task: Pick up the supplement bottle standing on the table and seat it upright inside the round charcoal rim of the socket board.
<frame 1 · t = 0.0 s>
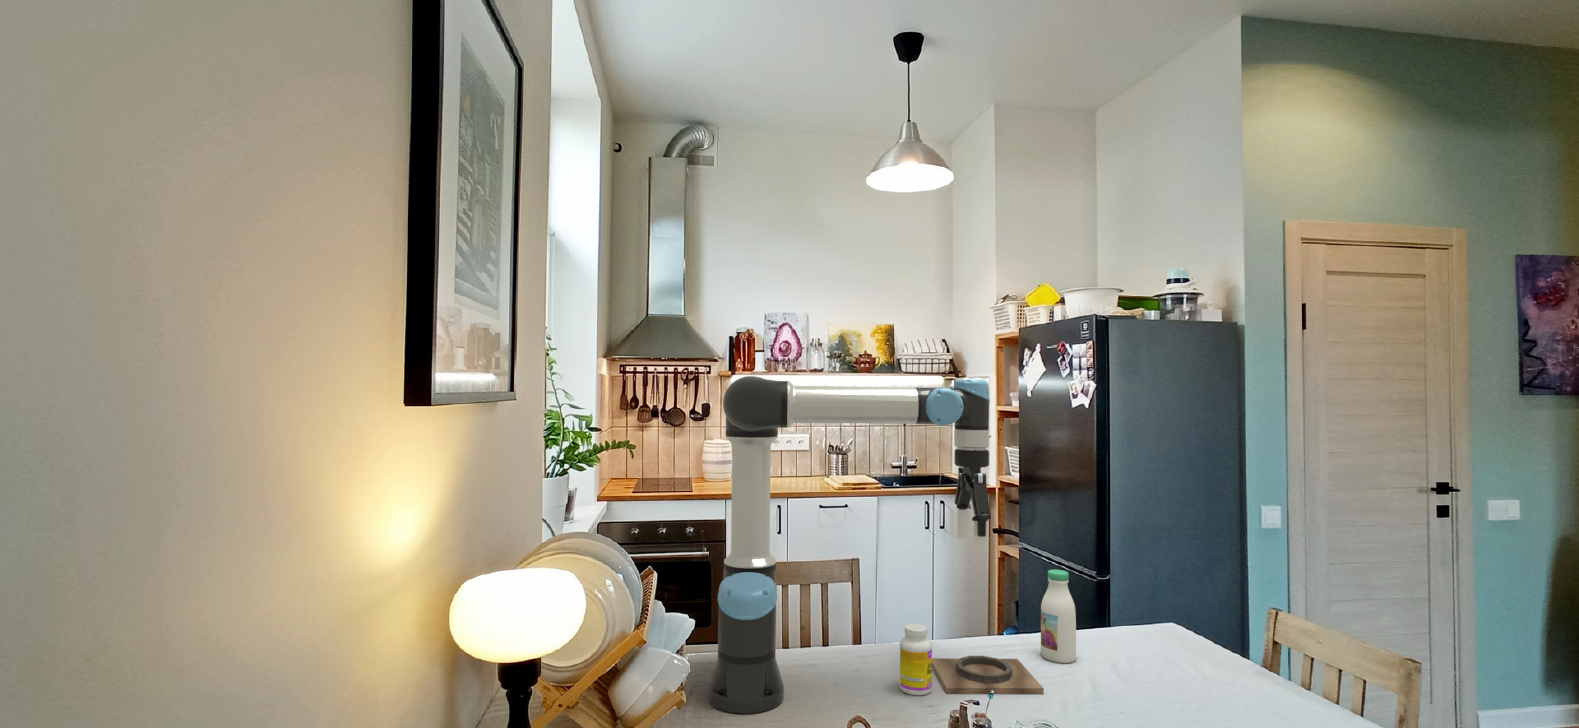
hand: (971, 544, 159), 28 cm above the table, tool pointing down, fingers open, 13 cm apart
socket board: (983, 678, 155), on the table
milk bottle: (1058, 658, 167), on the table
supplement bottle: (915, 690, 149), on the table
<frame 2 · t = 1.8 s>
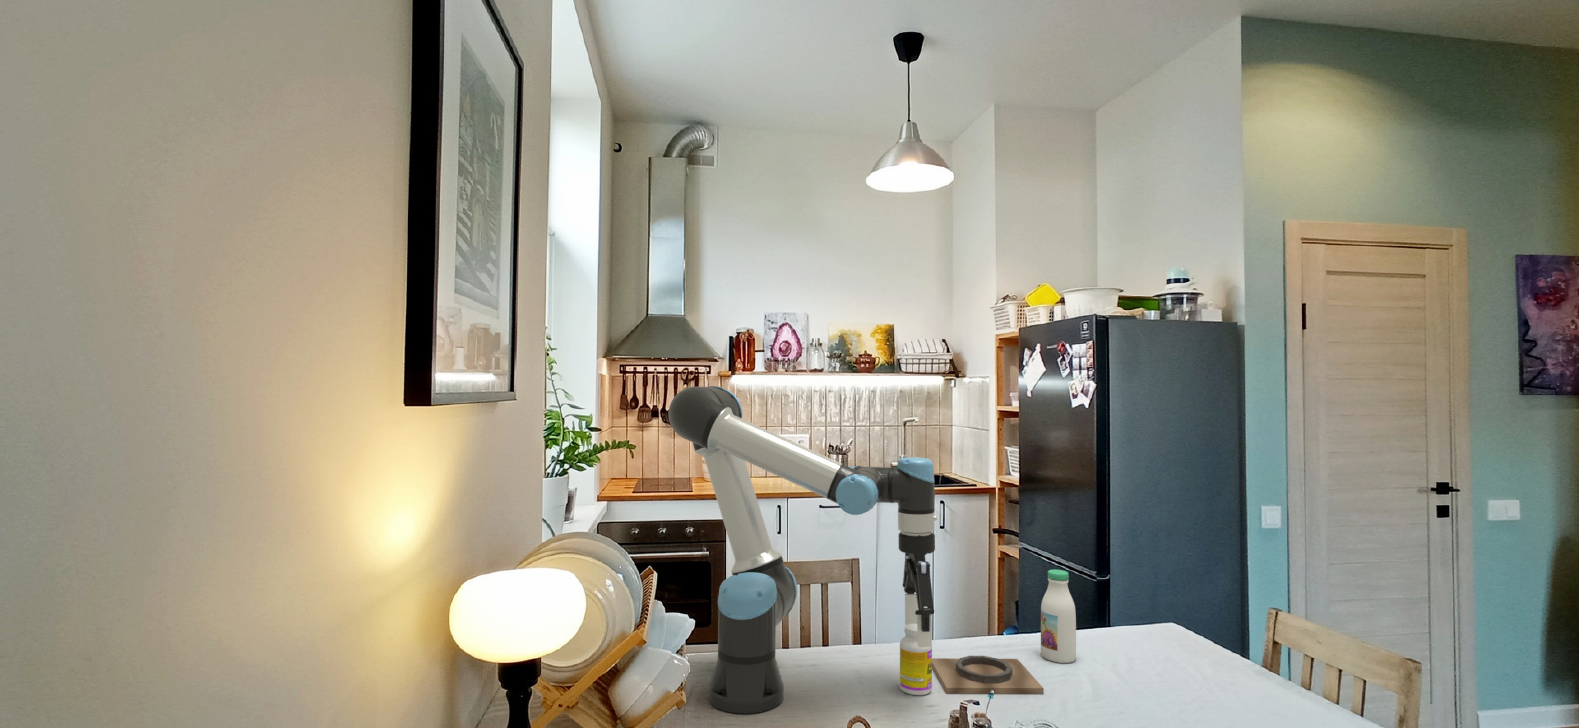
hand: (917, 635, 149), 11 cm above the table, tool pointing down, fingers open, 13 cm apart
nothing on the table moved.
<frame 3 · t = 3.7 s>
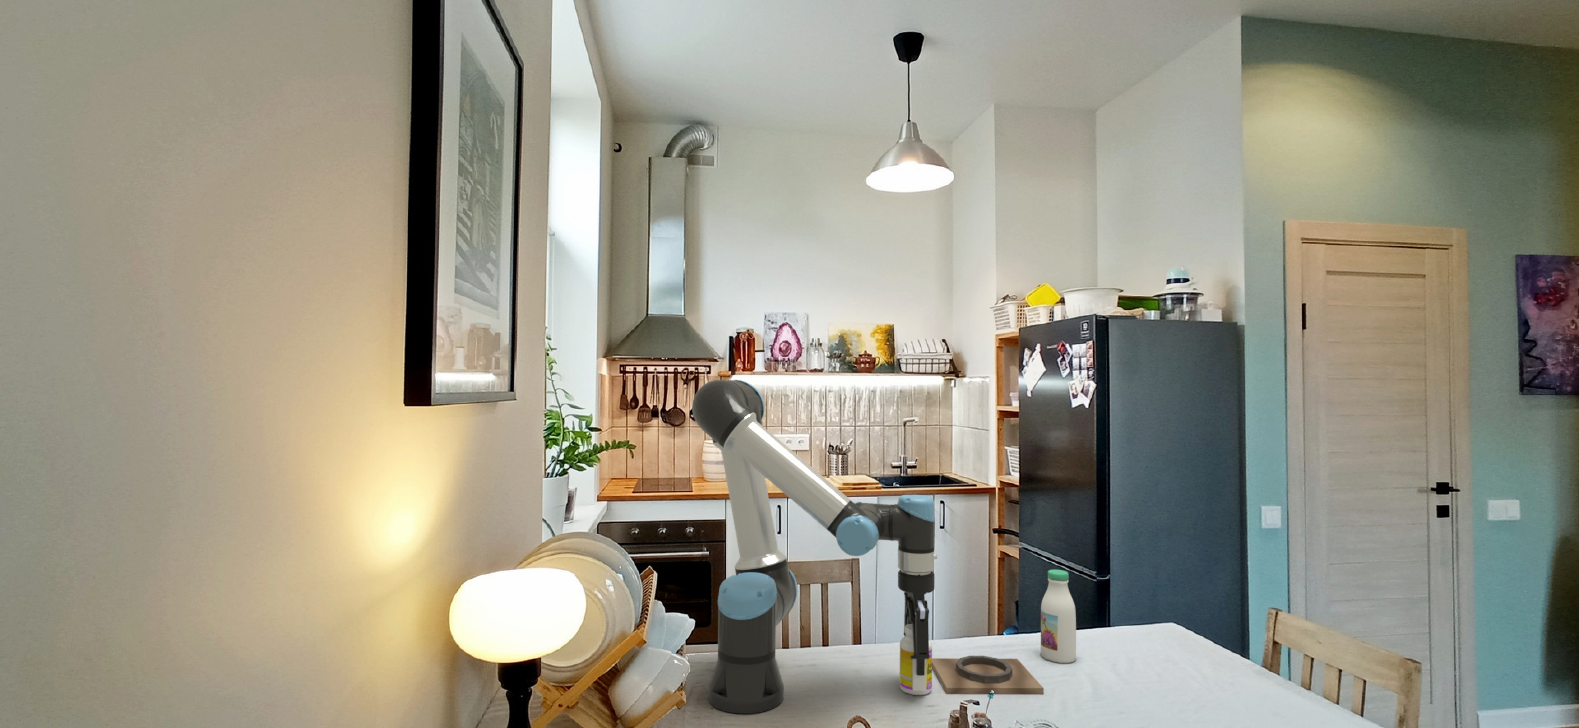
hand: (915, 682, 149), 2 cm above the table, tool pointing down, fingers closed on supplement bottle, 7 cm apart
supplement bottle: (915, 690, 149), on the table, touching gripper
everything else where it was.
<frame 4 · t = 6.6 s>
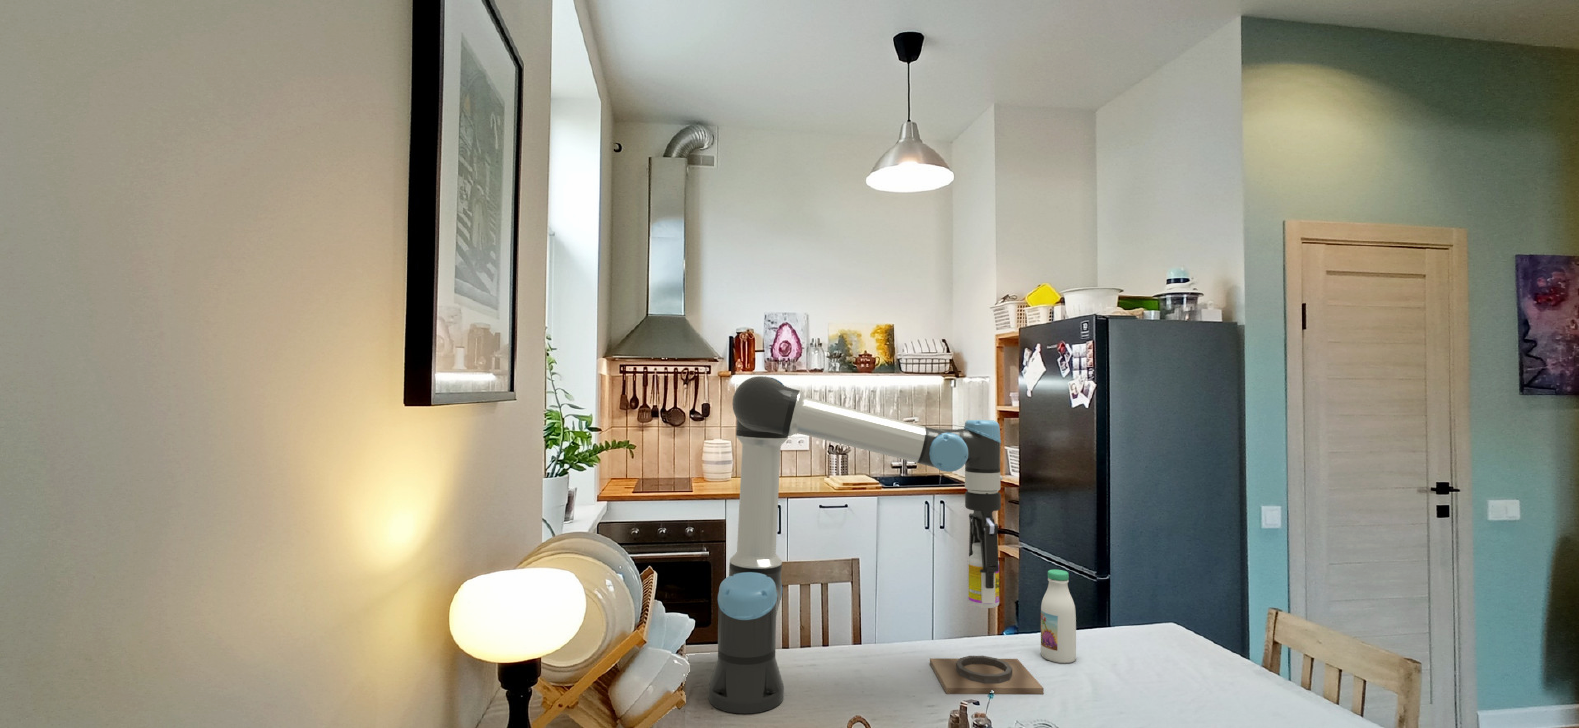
hand: (983, 597, 155), 17 cm above the table, tool pointing down, fingers closed on supplement bottle, 7 cm apart
supplement bottle: (983, 605, 155), point 16 cm above the table, touching gripper
everything else where it was.
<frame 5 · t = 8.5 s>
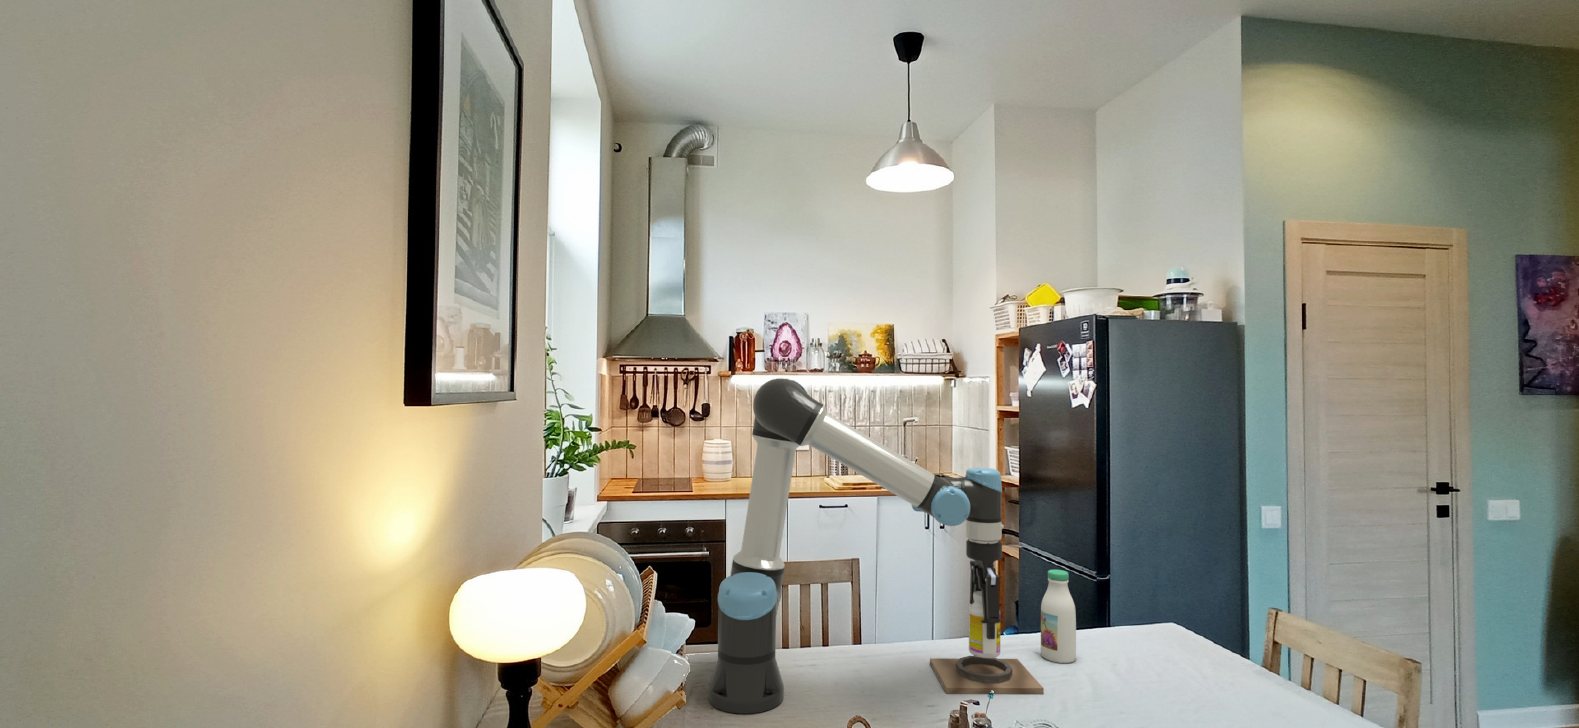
hand: (984, 646, 155), 7 cm above the table, tool pointing down, fingers closed on supplement bottle, 7 cm apart
supplement bottle: (984, 654, 155), point 5 cm above the table, touching gripper
everything else where it was.
when the fingers open (4 cm above the table, at t = 9.9 s): supplement bottle drops 1 cm, resting on socket board.
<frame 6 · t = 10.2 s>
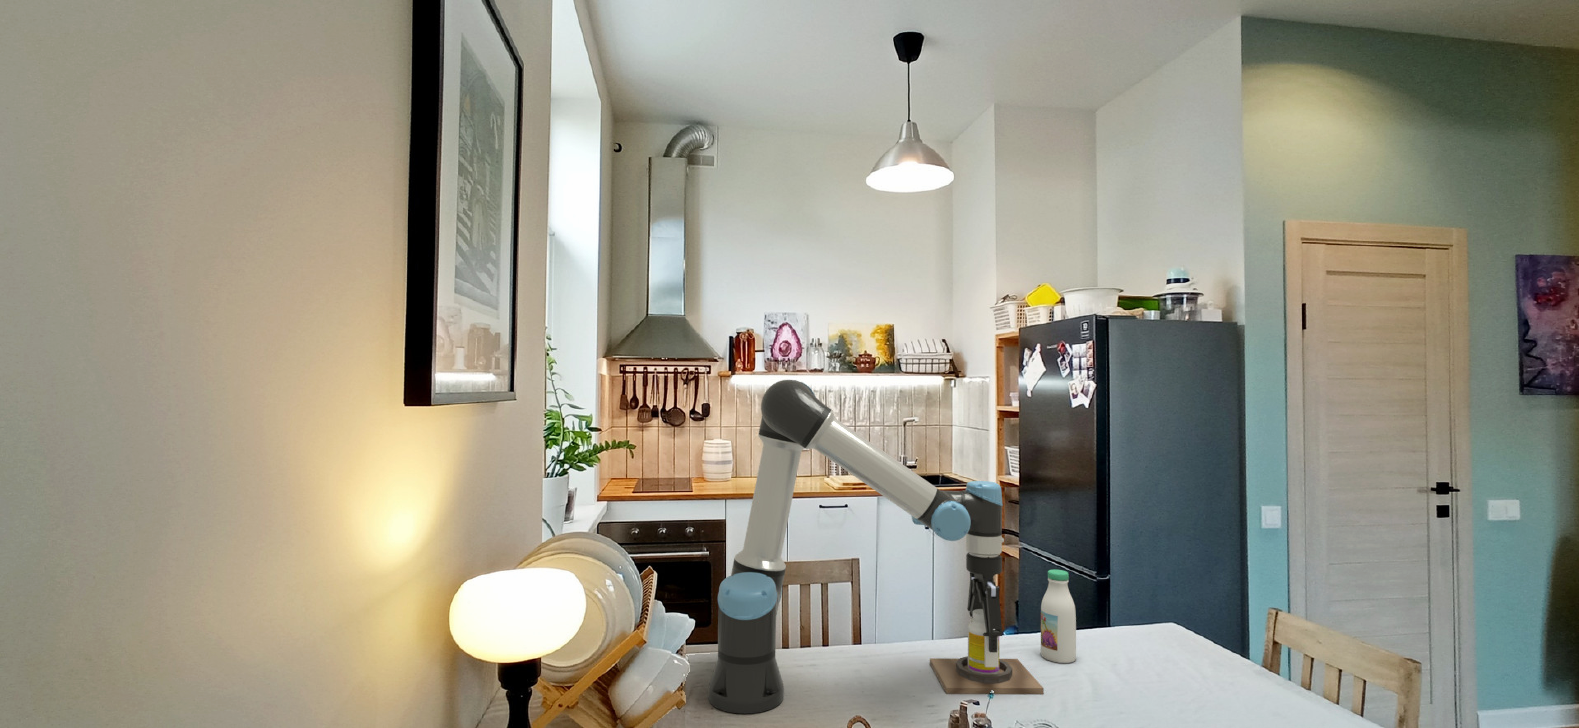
hand: (983, 656, 155), 5 cm above the table, tool pointing down, fingers open, 10 cm apart
supplement bottle: (983, 673, 155), point 1 cm above the table, touching socket board
everything else where it was.
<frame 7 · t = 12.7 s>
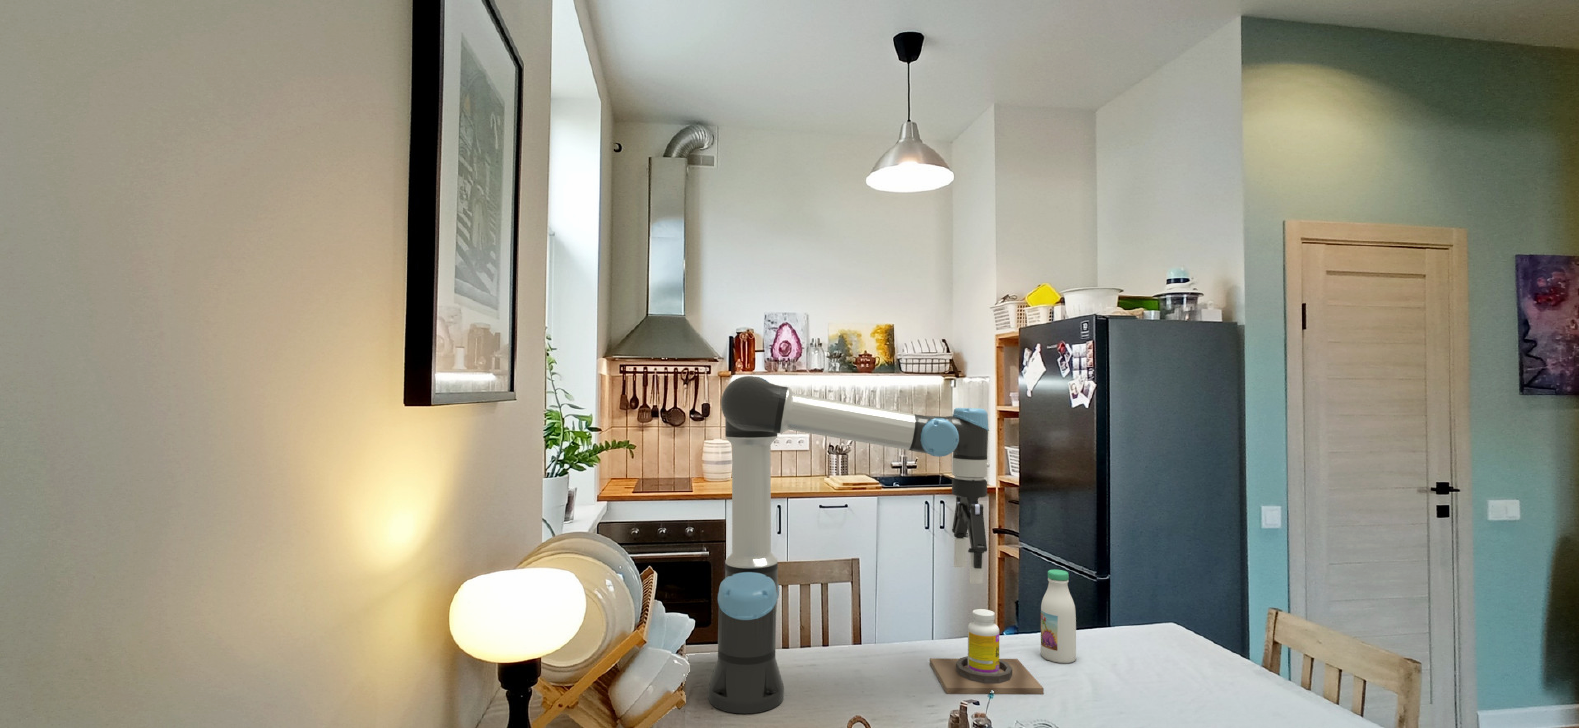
hand: (967, 574, 157), 22 cm above the table, tool pointing down, fingers open, 13 cm apart
nothing on the table moved.
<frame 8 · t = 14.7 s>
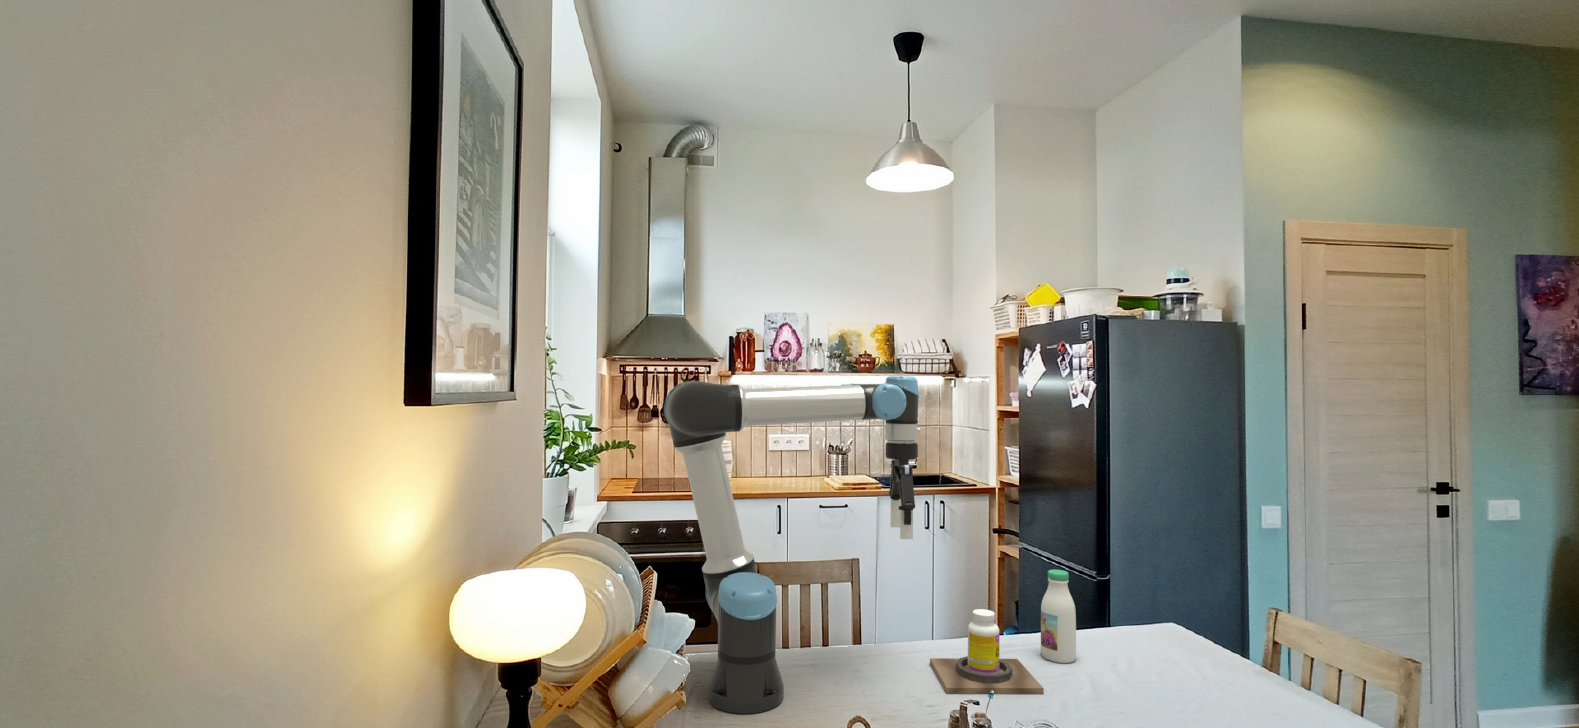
hand: (901, 532, 167), 29 cm above the table, tool pointing down, fingers open, 13 cm apart
nothing on the table moved.
at the end: supplement bottle 0.1 cm off-centre on the socket board, point 1.0 cm above the socket board's base; supplement bottle tilted 0°; the gripper is holding nothing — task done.
